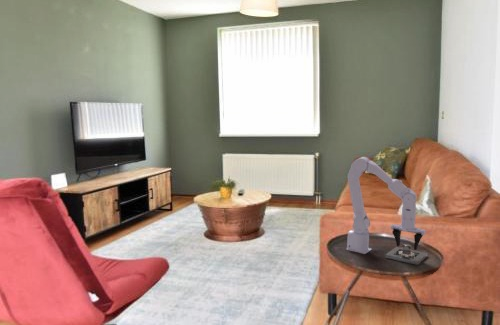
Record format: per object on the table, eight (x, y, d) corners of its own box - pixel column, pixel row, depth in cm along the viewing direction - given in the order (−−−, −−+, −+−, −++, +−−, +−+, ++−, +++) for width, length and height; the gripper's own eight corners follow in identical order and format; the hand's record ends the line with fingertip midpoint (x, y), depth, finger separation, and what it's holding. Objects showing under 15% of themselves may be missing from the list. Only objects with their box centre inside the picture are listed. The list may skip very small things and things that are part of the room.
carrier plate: (385, 257, 183) (385, 254, 183) (396, 249, 194) (396, 246, 194) (417, 265, 174) (417, 261, 174) (427, 256, 185) (427, 253, 185)
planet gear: (395, 257, 184) (395, 245, 183) (401, 253, 189) (401, 241, 188) (411, 261, 179) (411, 249, 178) (417, 256, 184) (417, 245, 184)
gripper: (388, 217, 183) (387, 246, 185) (422, 222, 174) (420, 253, 176) (394, 214, 189) (393, 242, 190) (427, 219, 180) (425, 249, 181)
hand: (406, 247), depth 184 cm, fingers open, 7 cm apart
